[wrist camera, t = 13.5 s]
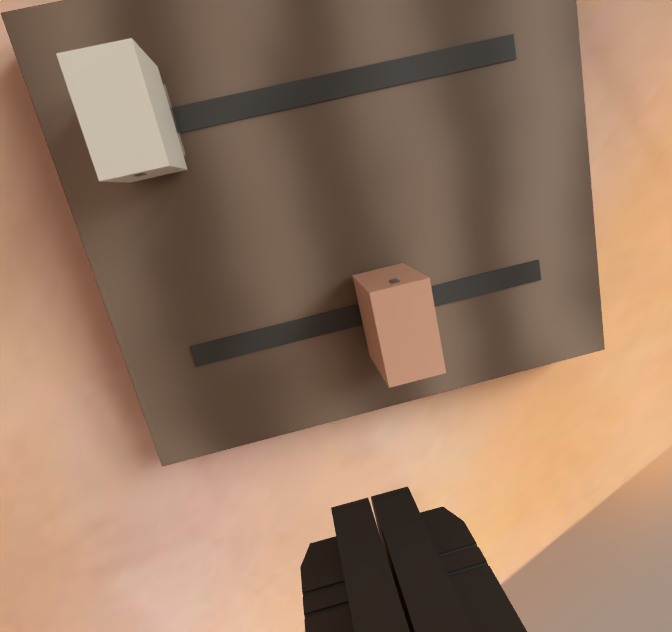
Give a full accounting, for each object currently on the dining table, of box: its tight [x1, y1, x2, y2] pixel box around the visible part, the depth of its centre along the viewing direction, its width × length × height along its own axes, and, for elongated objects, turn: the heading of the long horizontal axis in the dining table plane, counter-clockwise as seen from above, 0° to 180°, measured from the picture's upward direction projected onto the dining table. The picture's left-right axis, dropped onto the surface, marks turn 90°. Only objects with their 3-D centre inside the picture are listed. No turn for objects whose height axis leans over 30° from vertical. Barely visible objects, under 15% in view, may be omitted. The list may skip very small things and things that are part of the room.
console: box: [1, 0, 604, 466], centre depth 24 cm, size 23×20×3 cm
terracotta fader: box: [352, 263, 446, 388], centre depth 22 cm, size 2×4×4 cm, turn 13°
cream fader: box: [56, 38, 187, 183], centre depth 19 cm, size 2×4×4 cm, turn 13°
